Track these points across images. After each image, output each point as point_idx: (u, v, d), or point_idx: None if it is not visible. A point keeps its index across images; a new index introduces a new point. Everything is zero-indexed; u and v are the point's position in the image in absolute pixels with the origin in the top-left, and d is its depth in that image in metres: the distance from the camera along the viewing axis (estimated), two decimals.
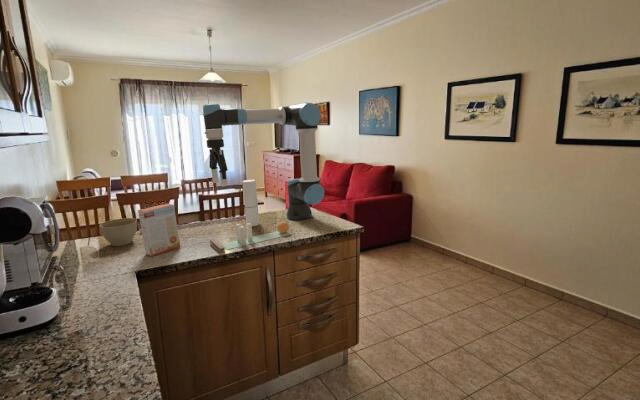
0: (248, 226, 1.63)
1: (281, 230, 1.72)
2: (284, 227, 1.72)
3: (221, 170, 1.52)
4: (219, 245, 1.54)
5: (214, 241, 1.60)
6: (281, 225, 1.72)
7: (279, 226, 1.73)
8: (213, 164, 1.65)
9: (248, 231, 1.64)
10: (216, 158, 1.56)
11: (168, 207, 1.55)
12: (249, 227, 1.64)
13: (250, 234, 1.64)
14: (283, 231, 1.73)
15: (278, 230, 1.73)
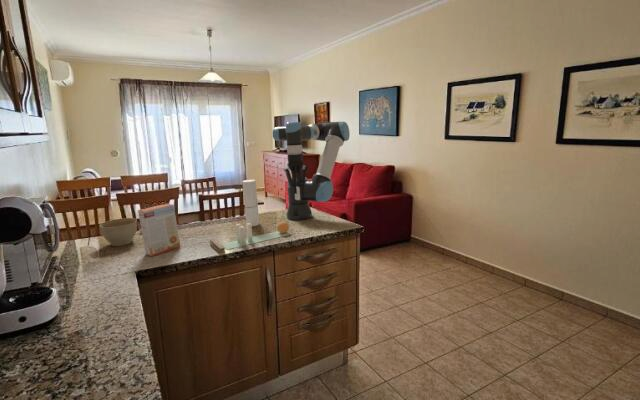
0: (248, 226, 1.63)
1: (281, 230, 1.72)
2: (284, 227, 1.72)
3: None
4: (219, 245, 1.54)
5: (214, 241, 1.60)
6: (281, 225, 1.72)
7: (279, 226, 1.73)
8: (297, 179, 1.76)
9: (248, 231, 1.64)
10: (291, 173, 1.74)
11: (168, 207, 1.55)
12: (249, 227, 1.64)
13: (250, 234, 1.64)
14: (283, 231, 1.73)
15: (278, 230, 1.73)
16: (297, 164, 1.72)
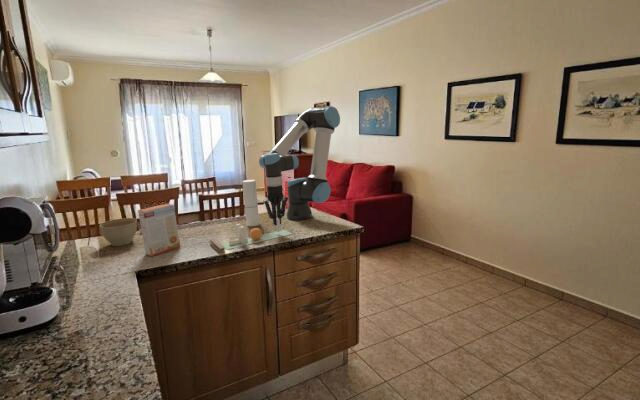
0: (232, 244, 1.60)
1: (255, 231, 1.64)
2: (259, 234, 1.65)
3: None
4: (219, 245, 1.54)
5: (214, 241, 1.60)
6: (260, 230, 1.66)
7: (258, 229, 1.66)
8: (277, 211, 1.72)
9: (237, 243, 1.62)
10: (271, 204, 1.71)
11: (168, 207, 1.55)
12: (233, 243, 1.60)
13: (240, 241, 1.62)
14: (255, 234, 1.64)
15: (253, 229, 1.65)
16: (277, 196, 1.69)
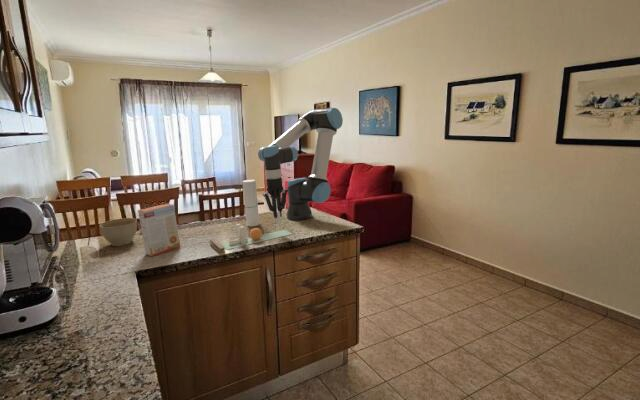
0: None
1: (255, 231, 1.64)
2: (259, 234, 1.65)
3: None
4: (219, 245, 1.54)
5: (214, 241, 1.60)
6: (260, 230, 1.66)
7: (258, 229, 1.66)
8: (277, 203, 1.72)
9: None
10: (271, 197, 1.70)
11: (168, 207, 1.55)
12: (233, 244, 1.60)
13: (240, 242, 1.62)
14: (255, 234, 1.64)
15: (253, 229, 1.65)
16: (276, 188, 1.68)
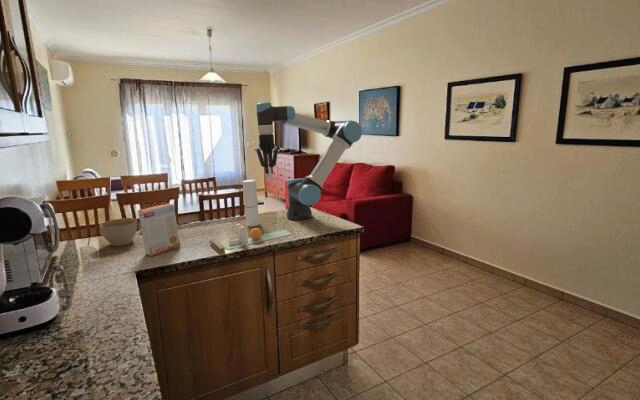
0: (232, 244, 1.60)
1: (255, 231, 1.64)
2: (259, 234, 1.65)
3: (262, 165, 1.78)
4: (219, 245, 1.54)
5: (214, 241, 1.60)
6: (260, 230, 1.66)
7: (258, 229, 1.66)
8: (268, 160, 1.78)
9: (237, 243, 1.62)
10: (263, 153, 1.77)
11: (168, 207, 1.55)
12: (233, 244, 1.60)
13: (240, 241, 1.62)
14: (255, 234, 1.64)
15: (253, 229, 1.65)
16: (268, 144, 1.75)
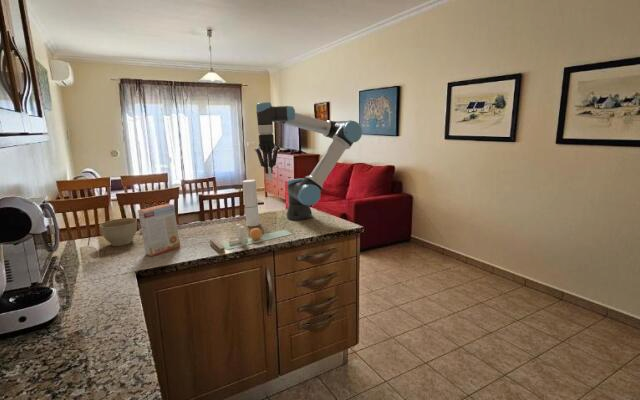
0: (232, 244, 1.60)
1: (255, 231, 1.64)
2: (259, 234, 1.65)
3: None
4: (219, 245, 1.54)
5: (214, 241, 1.60)
6: (260, 230, 1.66)
7: (258, 229, 1.66)
8: (268, 160, 1.78)
9: (237, 243, 1.62)
10: (263, 153, 1.77)
11: (168, 207, 1.55)
12: (233, 243, 1.60)
13: (240, 241, 1.62)
14: (255, 234, 1.64)
15: (253, 229, 1.65)
16: (268, 144, 1.75)
